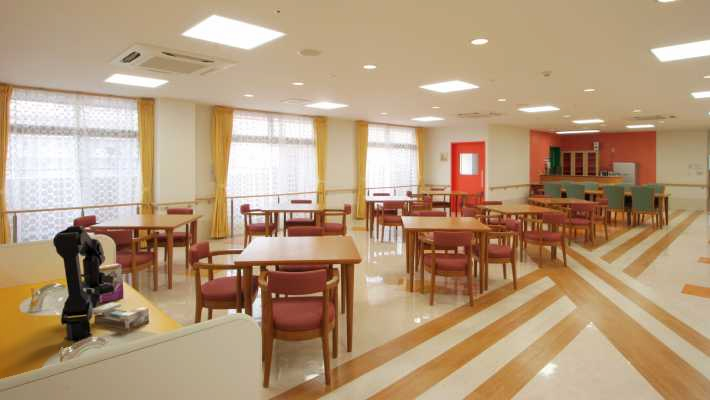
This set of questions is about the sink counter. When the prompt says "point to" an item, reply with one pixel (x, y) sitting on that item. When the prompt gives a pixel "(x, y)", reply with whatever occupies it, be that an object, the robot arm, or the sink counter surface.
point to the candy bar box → (117, 282)
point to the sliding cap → (105, 309)
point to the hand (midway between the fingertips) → (94, 307)
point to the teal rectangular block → (116, 314)
